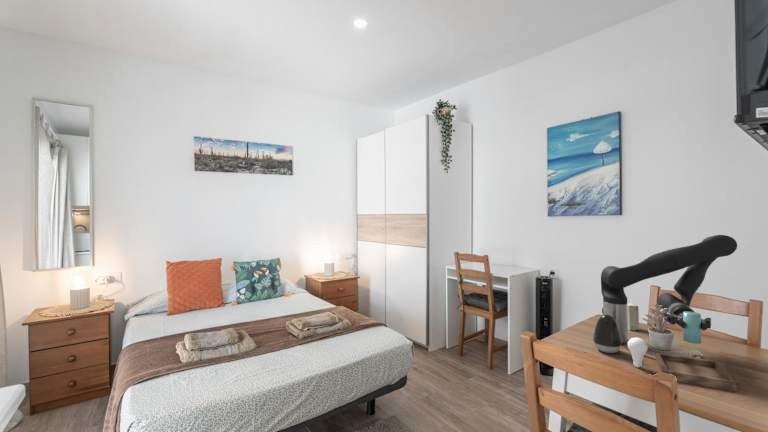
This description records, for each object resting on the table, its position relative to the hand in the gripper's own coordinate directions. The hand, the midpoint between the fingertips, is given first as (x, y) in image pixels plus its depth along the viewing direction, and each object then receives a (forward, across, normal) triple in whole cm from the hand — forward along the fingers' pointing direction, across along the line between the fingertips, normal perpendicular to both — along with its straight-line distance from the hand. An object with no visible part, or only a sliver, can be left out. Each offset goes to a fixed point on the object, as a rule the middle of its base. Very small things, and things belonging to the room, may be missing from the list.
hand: (694, 326), depth 122 cm
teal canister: (-3, 0, +6) cm, 7 cm away
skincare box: (-53, -13, +18) cm, 57 cm away
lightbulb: (-1, -16, +18) cm, 24 cm away
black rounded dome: (-14, -25, +18) cm, 34 cm away
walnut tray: (-3, 0, +18) cm, 18 cm away
